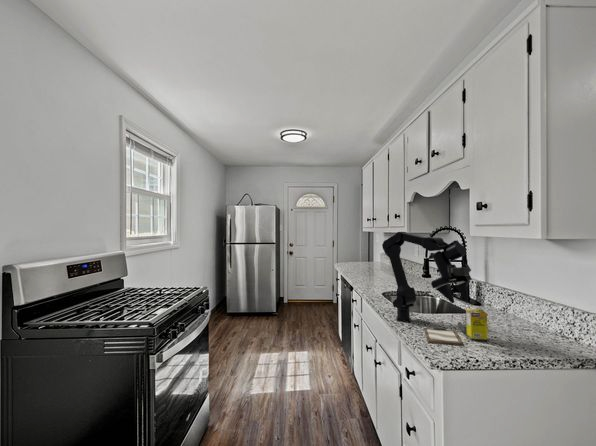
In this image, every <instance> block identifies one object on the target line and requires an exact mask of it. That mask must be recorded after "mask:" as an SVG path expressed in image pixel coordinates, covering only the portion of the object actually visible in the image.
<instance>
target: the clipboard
mask: <svg viewBox="0 0 596 446" xmlns="http://www.w3.org/2000/svg"><path fill="white" fill-rule="evenodd" d="M423 331H424V335H425V337H426V340H427V343H428V344H438V345H439V344H440V345H450V346H463V341H462V340H461V339H460V337H459V334H458V333H457V332H456V330H453V329H452V330H451V329H447V328H446V327H436V326H435V327H434V326H433V327H432V328H428V327H427V328H426V327H425V328H424V327H423Z"/></svg>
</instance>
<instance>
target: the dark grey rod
mask: <svg viewBox="0 0 596 446" xmlns="http://www.w3.org/2000/svg"><path fill="white" fill-rule="evenodd" d="M456 324H457V326H458V328H459V329H460V331H461V332H462V334H463V335H466V336H467V328H466V326H464V325H463V323H462V322H461V321H458V322H457V323H456Z"/></svg>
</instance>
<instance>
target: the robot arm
mask: <svg viewBox="0 0 596 446" xmlns="http://www.w3.org/2000/svg"><path fill="white" fill-rule="evenodd" d="M405 242H406V243H411V244H414V245H418V246H420V247H421V248H423V249H424V250H426V251H429V252H430V253H429V256H428V260H433V261H434V264H435V265H436V267H437V269H436V273H439V274H440V277H438V278H436V279H433V280H432V281H431V284H430V285H431V288H432V289H435V291H438V292H439V293H440V294H441V295H442V296H444V298H446V299H447V300H448V302H450V303H452V304H455V299H454V295H453V293H452V290H451V286H452V284H454V285H455V289H456V290H457V291H458V292H459V293H460V295H461V296H462V298H463V299H464V300H465V301H466V302H467V301H469V300H470V299H469V289H468V288H469V284H470V283H471V281H472V280H473V279H472V277H471V275H470V272H471V271H472V268H471V267H470V266H469V264H462V265H461V266H460V267H459V266H456V264H454V263H453V264H452V262H451V261H453V262H454V261H455V260H458V259H461V258H462V257H464V256H466V255H467V249H466V247H465V246H464V245H463V244H462V243H461V242H460V241H459V240H458V239H457V240H456V239H455V240H453V241H451V242H450V243H447V242H446V241H444V238H442V237H436V236H435V237H434V236H431V237H430V236H429V237H427V236H423V235H422V236H421V235H418V234H414V233H408V232H407V231H398V232H396V233H395V234H393V235H391V236H390V237H388V238H387V239H385V240H384V241H383V242H382V244H381V245H382V249H383V252H384V254H385V255H386V256H387V257H388V259H389V261H390V265H391V269H392V272H393V275H394V278H395V281H396V282H395V283H396V286H397V289H396V294H395V295H396V298H395V299H394V300H393V302H392V306H393V307H394V308H396V309H397V310H396V316H395V317H396V321H397V322H406V323H407V322H409V323H410V322H412V319H411V317H410V316H411V310H410V309H411V308H412V307H414V306H415V305H414V304H415V303H416V301H417V294H416V290H415V287H414V286H413V287H411V286H410V285H409V283H408V279H407V277H406V273H405V269H404V266H403V262H402V260H401V257H400V255H401V251H402V248H401V247H402V246H403V245H404V243H405Z"/></svg>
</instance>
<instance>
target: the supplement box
mask: <svg viewBox="0 0 596 446" xmlns="http://www.w3.org/2000/svg"><path fill="white" fill-rule="evenodd" d="M465 315H466V330H467V335H466V337H467V338H468V339H469V340H470V341H474V342H488V341H489V340H488V339H489V338H488V313H487V312H486V311H484V310H483V309H477V308H476V309H473V308H472V309H471V308H467V309H466V311H465Z"/></svg>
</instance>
